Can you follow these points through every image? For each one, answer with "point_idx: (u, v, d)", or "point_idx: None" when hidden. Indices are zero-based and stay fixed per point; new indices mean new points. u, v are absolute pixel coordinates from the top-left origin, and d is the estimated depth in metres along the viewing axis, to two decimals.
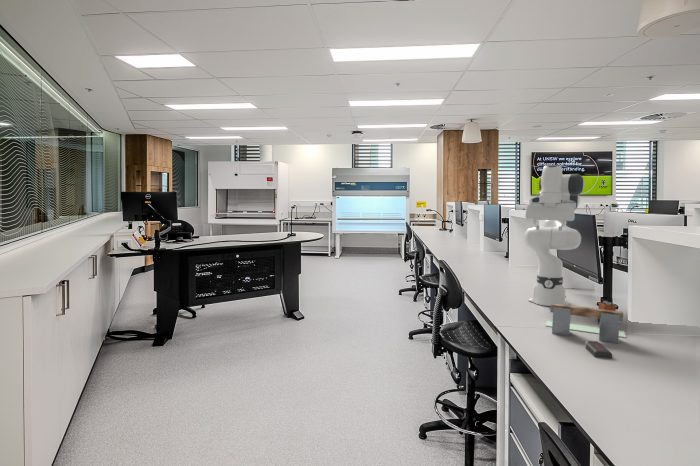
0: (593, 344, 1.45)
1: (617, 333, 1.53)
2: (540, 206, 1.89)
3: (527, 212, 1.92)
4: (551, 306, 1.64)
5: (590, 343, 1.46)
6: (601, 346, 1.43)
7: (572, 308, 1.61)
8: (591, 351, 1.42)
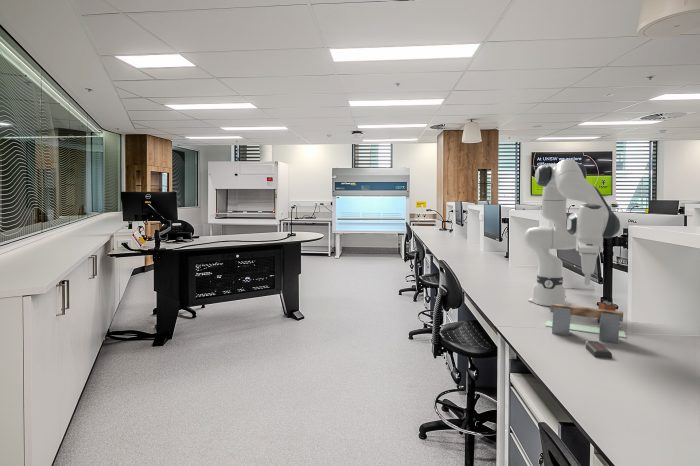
0: (593, 344, 1.45)
1: (617, 333, 1.53)
2: None
3: (594, 266, 1.50)
4: (551, 306, 1.64)
5: (590, 343, 1.46)
6: (601, 346, 1.43)
7: (572, 308, 1.61)
8: (591, 350, 1.42)
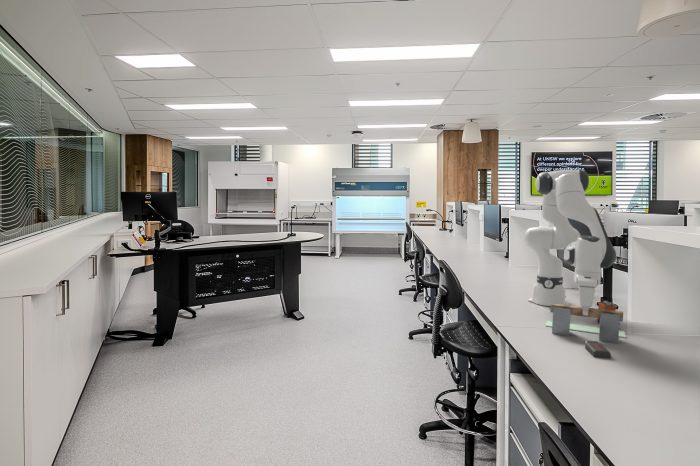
0: (592, 344, 1.45)
1: (617, 333, 1.53)
2: None
3: (592, 299, 1.51)
4: (551, 306, 1.64)
5: (589, 343, 1.46)
6: (600, 346, 1.43)
7: (572, 308, 1.61)
8: (590, 350, 1.42)
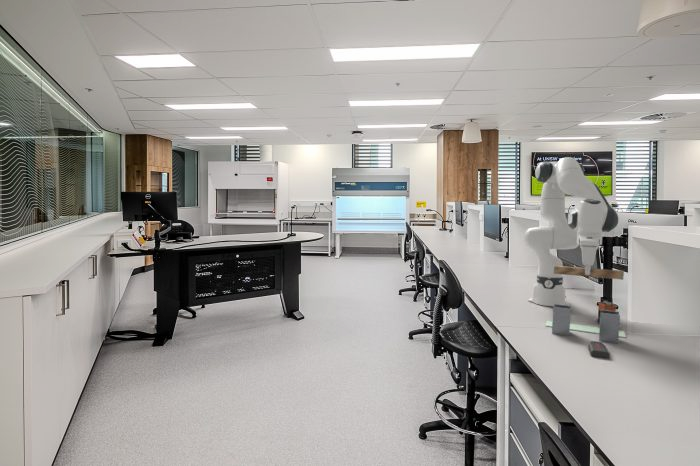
0: (594, 344, 1.45)
1: (617, 333, 1.53)
2: None
3: (594, 257, 1.58)
4: (555, 268, 1.72)
5: (592, 343, 1.46)
6: (602, 346, 1.43)
7: (575, 269, 1.68)
8: (590, 350, 1.42)
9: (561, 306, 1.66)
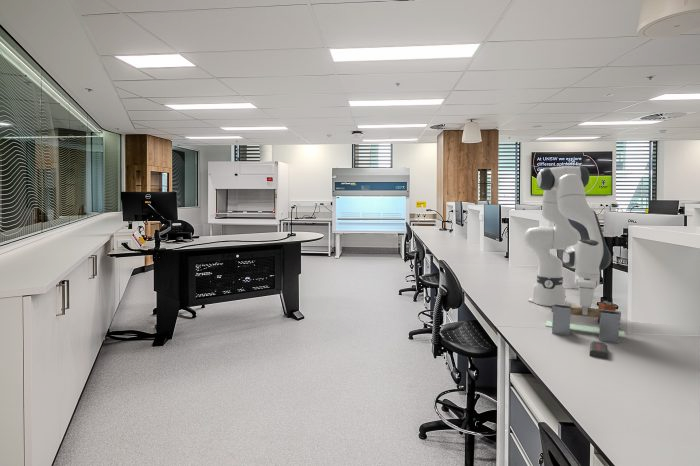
0: (595, 344, 1.45)
1: (617, 333, 1.53)
2: None
3: None
4: (552, 306, 1.73)
5: (593, 343, 1.46)
6: (602, 346, 1.43)
7: (572, 308, 1.70)
8: None
9: (561, 306, 1.66)
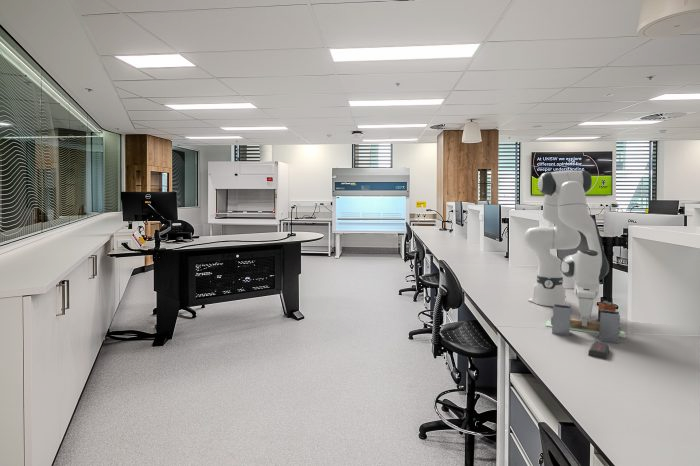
0: (597, 344, 1.45)
1: (617, 333, 1.53)
2: None
3: (591, 310, 1.60)
4: (552, 319, 1.74)
5: (595, 343, 1.46)
6: (603, 347, 1.42)
7: (572, 321, 1.70)
8: None
9: (561, 306, 1.66)
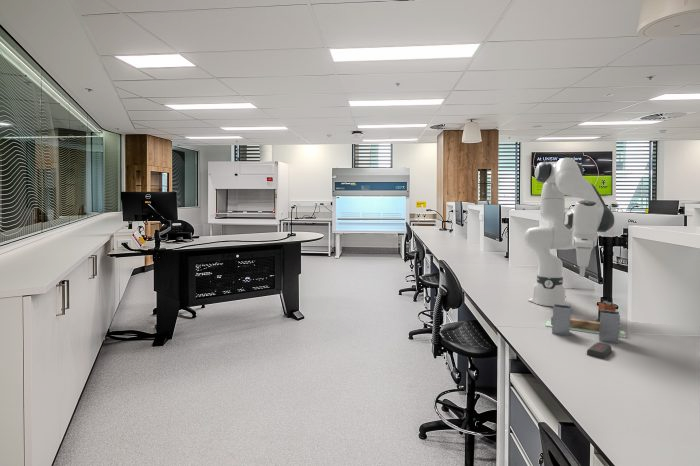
0: (598, 345, 1.44)
1: (617, 333, 1.53)
2: None
3: (589, 259, 1.61)
4: (552, 319, 1.74)
5: (597, 344, 1.46)
6: (604, 347, 1.42)
7: (572, 321, 1.70)
8: None
9: (561, 306, 1.66)
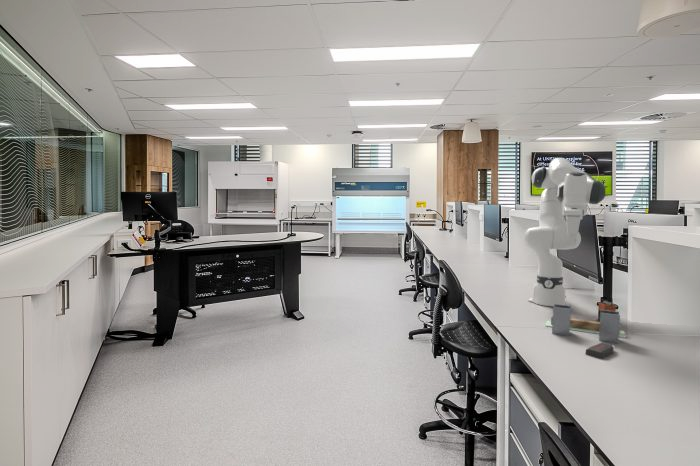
0: (600, 345, 1.44)
1: (617, 333, 1.53)
2: None
3: (578, 226, 1.65)
4: (552, 319, 1.74)
5: (599, 344, 1.45)
6: (605, 348, 1.42)
7: (572, 321, 1.70)
8: None
9: (561, 306, 1.66)
